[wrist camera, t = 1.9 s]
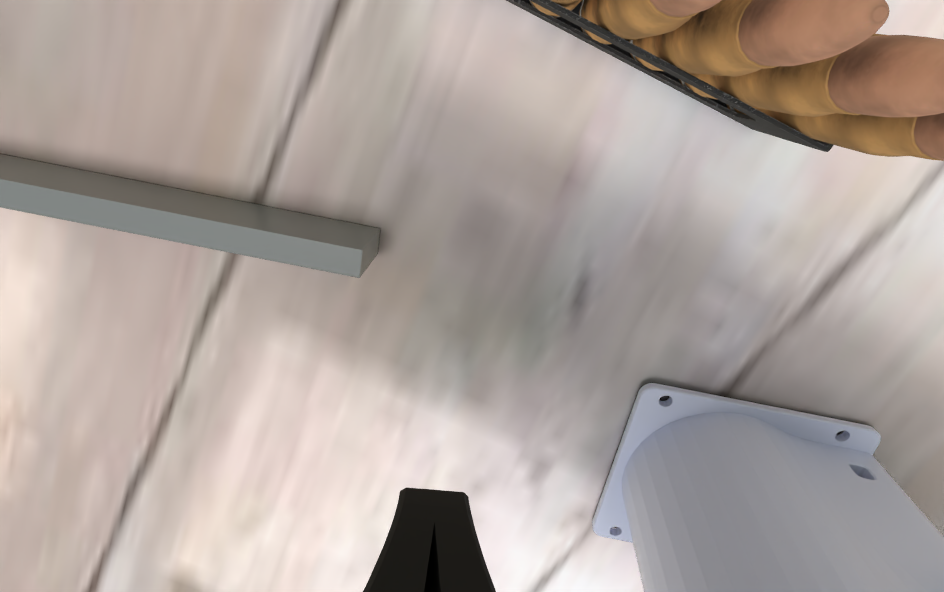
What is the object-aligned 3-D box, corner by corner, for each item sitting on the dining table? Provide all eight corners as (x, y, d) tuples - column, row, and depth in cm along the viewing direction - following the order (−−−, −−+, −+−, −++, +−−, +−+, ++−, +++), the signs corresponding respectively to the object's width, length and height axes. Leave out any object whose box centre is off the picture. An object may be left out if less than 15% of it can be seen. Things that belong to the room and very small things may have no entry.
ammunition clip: (793, 76, 17) (1256, 112, 6) (756, 132, 18) (1115, 247, 7) (487, -89, 16) (413, -386, 5) (461, -23, 17) (349, -166, 6)
